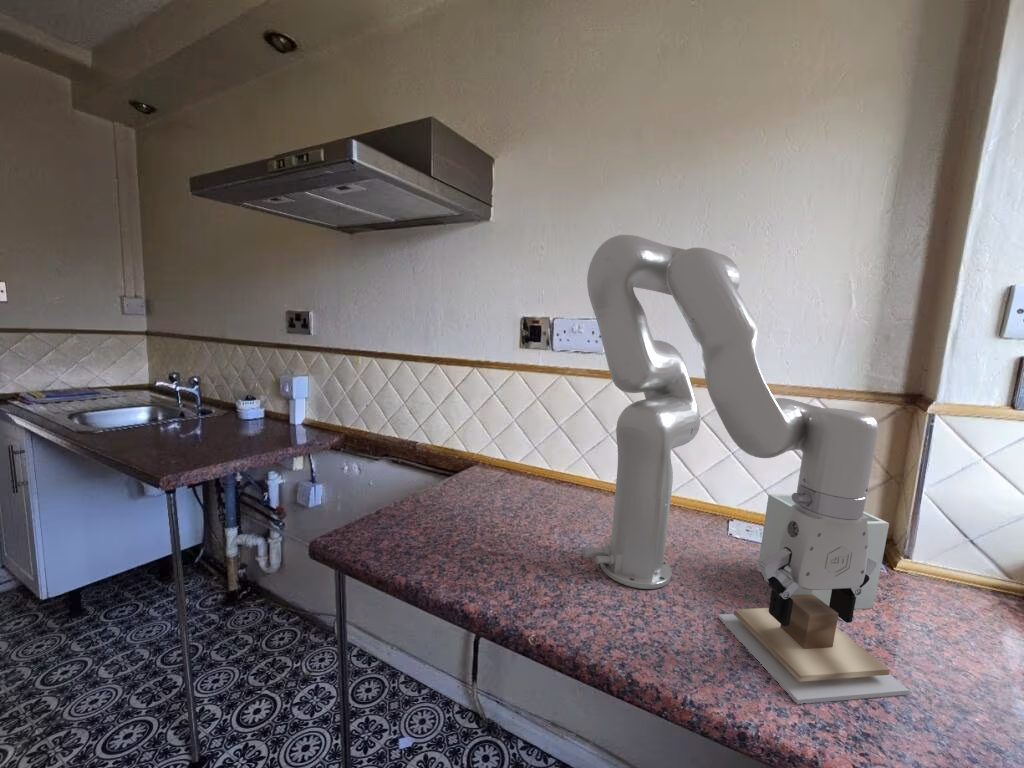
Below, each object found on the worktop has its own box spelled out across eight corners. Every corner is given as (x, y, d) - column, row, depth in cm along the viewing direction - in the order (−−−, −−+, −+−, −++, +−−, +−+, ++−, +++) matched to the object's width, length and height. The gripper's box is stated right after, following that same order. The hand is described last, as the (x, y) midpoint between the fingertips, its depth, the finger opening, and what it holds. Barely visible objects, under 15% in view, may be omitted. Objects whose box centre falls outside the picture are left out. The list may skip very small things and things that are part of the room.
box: (808, 611, 74) (823, 524, 72) (757, 570, 86) (768, 494, 83) (873, 608, 76) (889, 523, 74) (814, 568, 88) (826, 494, 85)
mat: (797, 704, 55) (797, 699, 55) (718, 618, 71) (718, 614, 71) (908, 694, 58) (909, 690, 58) (808, 613, 73) (809, 609, 73)
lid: (798, 688, 57) (806, 639, 56) (732, 620, 69) (738, 578, 68) (887, 681, 59) (896, 633, 58) (808, 616, 71) (814, 576, 70)
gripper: (793, 513, 56) (773, 640, 58) (911, 512, 59) (888, 633, 61) (752, 490, 63) (736, 603, 66) (859, 490, 66) (840, 599, 68)
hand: (809, 617), depth 63 cm, fingers open, 9 cm apart
